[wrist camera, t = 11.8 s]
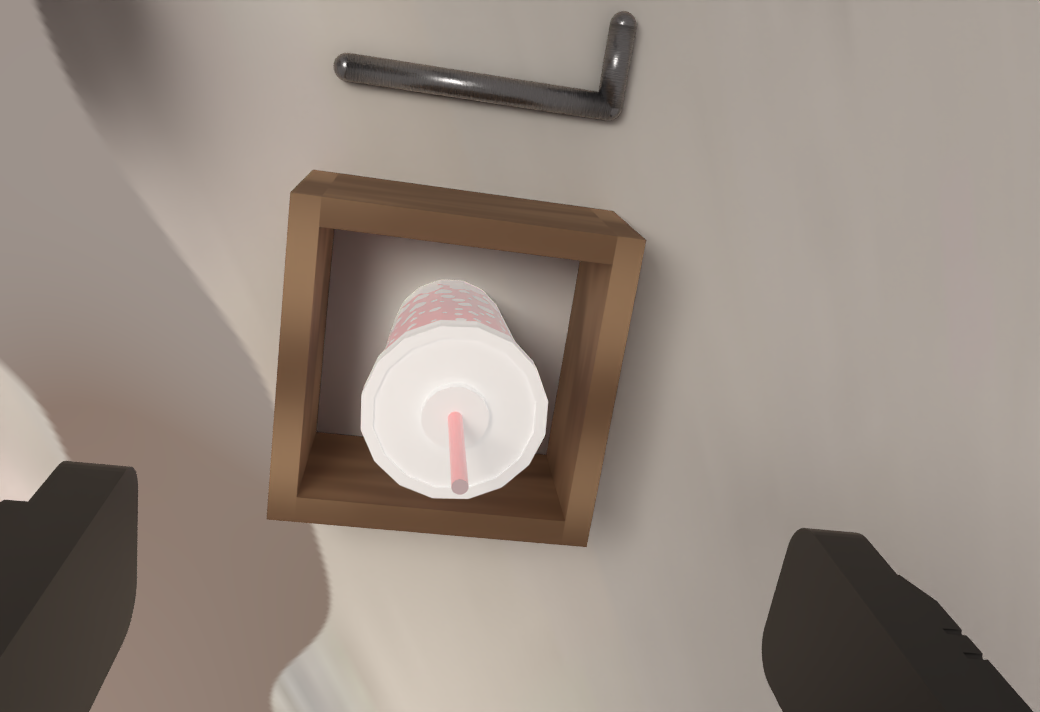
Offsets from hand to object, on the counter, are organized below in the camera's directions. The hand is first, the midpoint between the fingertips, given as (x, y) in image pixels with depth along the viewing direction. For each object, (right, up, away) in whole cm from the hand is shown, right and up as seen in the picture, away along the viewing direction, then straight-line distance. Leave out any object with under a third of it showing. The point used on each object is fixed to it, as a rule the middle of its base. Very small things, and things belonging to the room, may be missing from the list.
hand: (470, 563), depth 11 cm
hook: (-1, +14, +23) cm, 27 cm away
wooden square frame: (-2, +3, +27) cm, 27 cm away
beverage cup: (-2, +4, +27) cm, 27 cm away
